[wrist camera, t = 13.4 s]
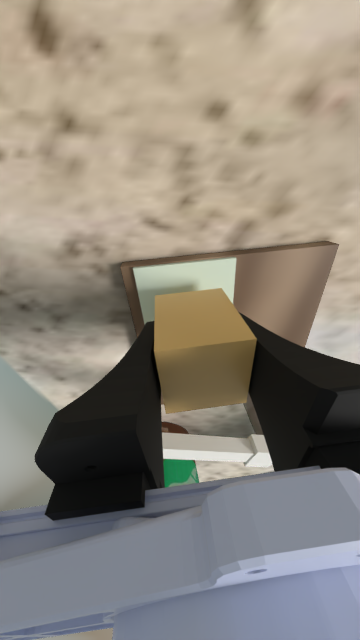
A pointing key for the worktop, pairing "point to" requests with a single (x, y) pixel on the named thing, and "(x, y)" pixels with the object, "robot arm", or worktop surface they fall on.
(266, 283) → the brown tray
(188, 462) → the food container
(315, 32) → the worktop surface
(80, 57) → the worktop surface
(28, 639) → the robot arm
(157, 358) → the plug block
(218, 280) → the sage mat
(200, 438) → the strap
